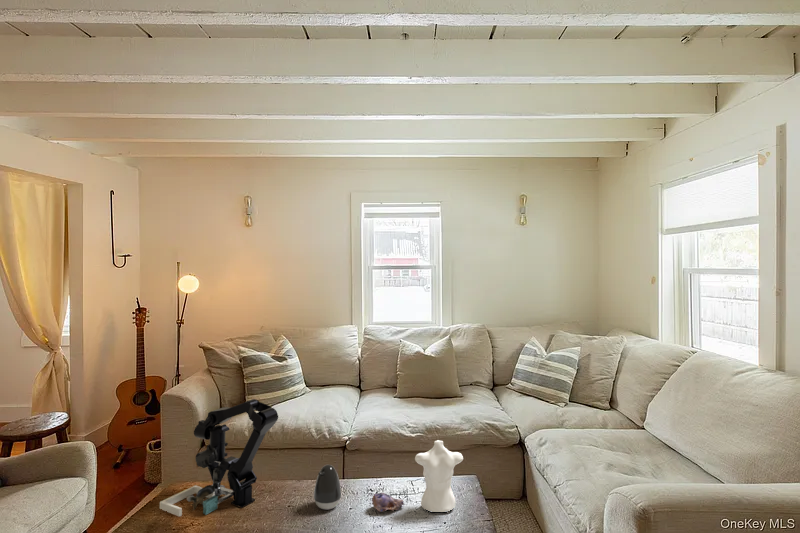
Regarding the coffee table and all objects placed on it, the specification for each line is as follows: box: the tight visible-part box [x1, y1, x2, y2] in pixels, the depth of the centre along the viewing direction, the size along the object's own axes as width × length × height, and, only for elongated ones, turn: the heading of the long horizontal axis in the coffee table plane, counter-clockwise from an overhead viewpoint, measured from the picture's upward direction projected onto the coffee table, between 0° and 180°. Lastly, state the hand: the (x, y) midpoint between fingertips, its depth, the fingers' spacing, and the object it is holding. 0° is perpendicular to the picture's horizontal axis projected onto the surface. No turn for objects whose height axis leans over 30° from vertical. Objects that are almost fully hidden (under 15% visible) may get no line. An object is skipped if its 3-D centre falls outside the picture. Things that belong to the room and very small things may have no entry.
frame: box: [159, 484, 215, 517], centre depth 165 cm, size 11×15×2 cm
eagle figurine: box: [186, 484, 215, 511], centre depth 164 cm, size 8×7×9 cm
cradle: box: [214, 484, 226, 497], centre depth 172 cm, size 2×5×3 cm, turn 152°
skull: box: [371, 492, 405, 513], centre depth 162 cm, size 12×8×6 cm, turn 96°
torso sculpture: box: [414, 439, 464, 512], centre depth 164 cm, size 18×10×25 cm, turn 95°
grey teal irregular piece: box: [202, 468, 234, 515], centre depth 166 cm, size 13×14×10 cm
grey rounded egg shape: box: [313, 464, 342, 511], centre depth 164 cm, size 10×10×15 cm
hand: (216, 481), depth 173 cm, fingers closed on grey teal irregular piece, 3 cm apart
